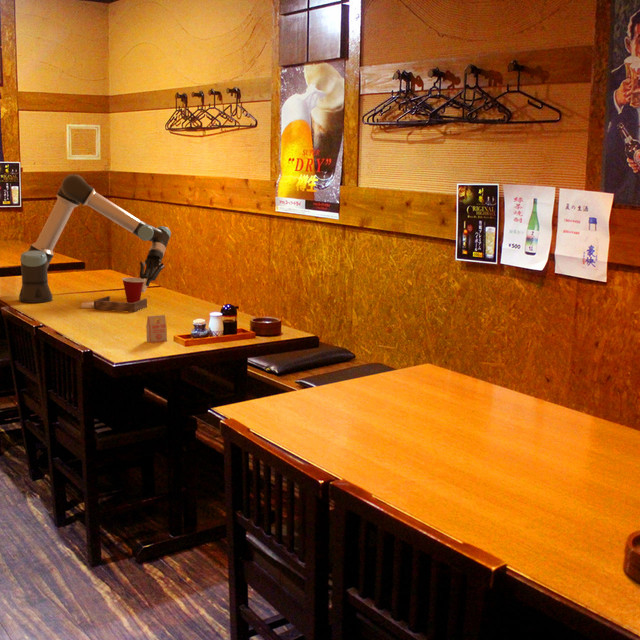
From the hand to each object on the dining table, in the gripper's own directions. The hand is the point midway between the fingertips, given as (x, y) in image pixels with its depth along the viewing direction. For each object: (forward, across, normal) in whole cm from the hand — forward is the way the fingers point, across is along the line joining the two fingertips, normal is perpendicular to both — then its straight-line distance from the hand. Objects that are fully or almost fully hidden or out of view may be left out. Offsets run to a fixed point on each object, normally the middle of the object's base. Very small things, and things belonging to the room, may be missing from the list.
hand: (142, 290), depth 374 cm
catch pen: (+19, 0, +13) cm, 23 cm away
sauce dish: (+21, +15, +14) cm, 29 cm away
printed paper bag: (+58, -43, +51) cm, 89 cm away
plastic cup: (+10, 0, +3) cm, 11 cm away
